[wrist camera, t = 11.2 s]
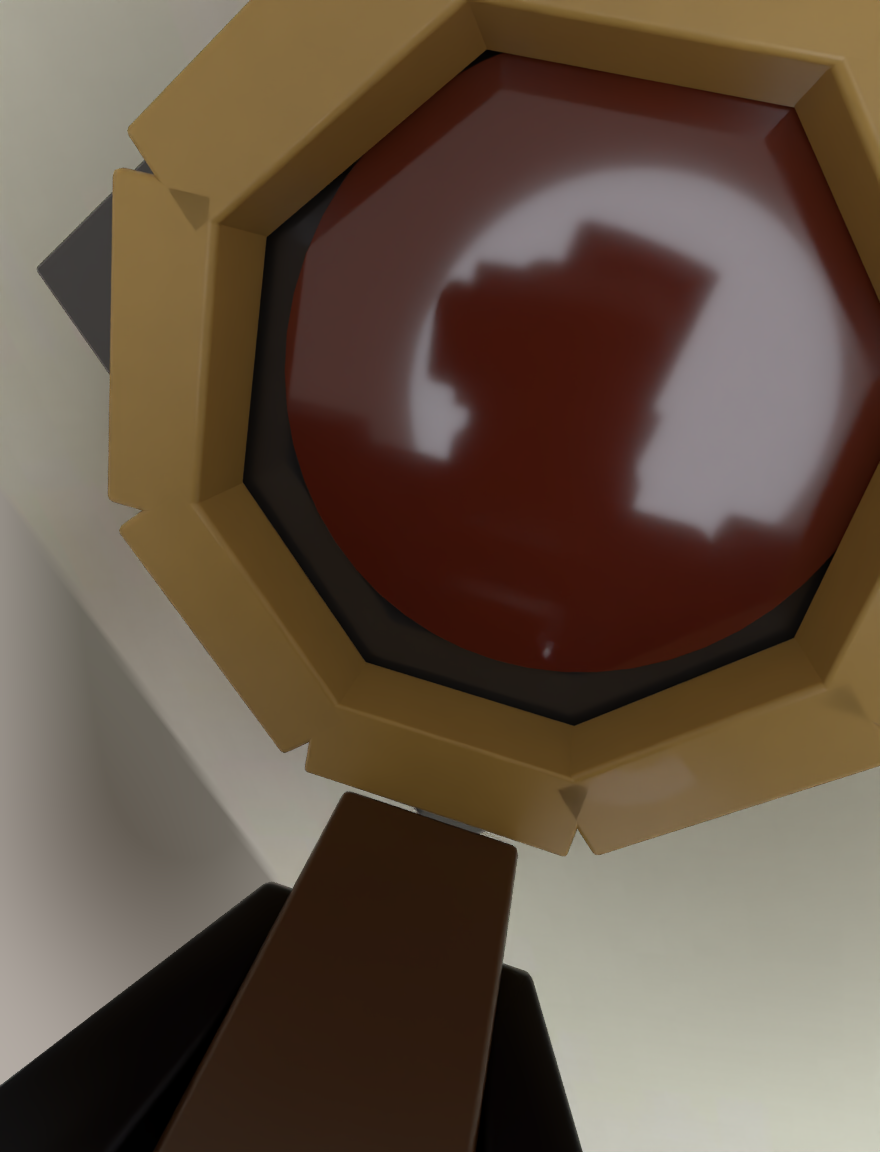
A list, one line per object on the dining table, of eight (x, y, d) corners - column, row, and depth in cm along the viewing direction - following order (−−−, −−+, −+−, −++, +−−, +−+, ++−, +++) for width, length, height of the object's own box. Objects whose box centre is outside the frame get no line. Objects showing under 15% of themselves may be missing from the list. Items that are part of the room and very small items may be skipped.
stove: (458, 788, 12) (439, 853, 10) (109, 276, 10) (26, 266, 8) (1124, 527, 8) (1240, 570, 7) (784, -353, 6) (842, -555, 5)
